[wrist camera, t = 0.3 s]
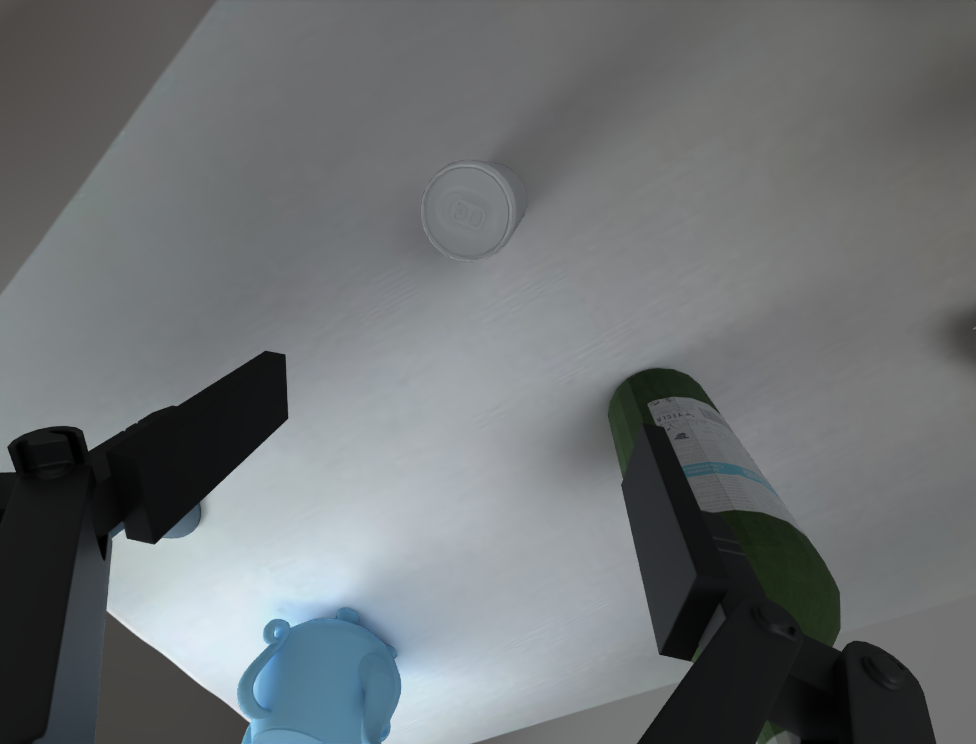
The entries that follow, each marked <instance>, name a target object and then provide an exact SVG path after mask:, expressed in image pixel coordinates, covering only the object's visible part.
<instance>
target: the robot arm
mask: <svg viewBox="0 0 976 744" xmlns="http://www.w3.org/2000/svg"><path fill="white" fill-rule="evenodd" d="M287 419H288V402H287V379H286V356H285V354H280V353H275V352H269V351H264V352H263V353H261V354H260V355H258V356H256V357H255V358H253V359H252V360H250V361H248V362H247V363H245V364H244V365H242V366H241V367H239V368H237V369H236V370H234V371H233V372H231V373H229V374H228V375H226V376H225V377H223V378H221V379H220V380H218V381H217V382H215V383H214V384H212V385H210V386H209V387H207V388H206V389H204V390H202V391H201V392H199V393H198V394H196V395H194V396H193V397H191V398H190V399H188V400H187V401H185V402H183V403H182V404H180V405H179V406H170V407H167V408H164V409H161V410H158V411H156V412H153V413H151V414H150V415H148V416H146V417H145V418H143V419H141V420H140V421H138V423H137V424H136V423H135V424H133V425H131V426H130V427H128V428H126V430H125V431H122V432H120V433H118V434H117V435H115V436H113V437H112V438H110V439H108V440H107V441H105V442H103V443H102V444H100V445H98V446H97V447H95V448H93V449H92V450H90V451H89V452H88V449H87V445H86V441H85V438H84V434H83V431H82V430H80V429H78V428H76V427H69V426H56V427H48V428H43V429H38V430H35V431H32V432H29V433H27V434H24V435H22V436H20V437H18V438H17V439H15V440H13V441H12V442H11V443H10V445H9V446H8V447H7V448H8V451H9V453H10V456H11V459H12V462H13V465H14V467H15V470H16V472H9V473H0V744H94V740H95V729H96V718H97V707H98V696H99V685H100V673H101V663H102V651H103V640H104V630H105V619H106V607H107V596H108V585H109V574H110V563H111V552H112V538H111V535H110V531H111V530H112V529H114V528H115V527H116V526H117V525H119V524H120V523H121V522H122V521H123V525H124V529H125V533H126V537H127V539H131V540H136V541H141V542H145V543H150V544H154V545H155V544H156V543H157V542H158V541H159V540H160V539H161V538H162V537H163V536H164V535H165V534H166V533H167V532H168V531H169V530H171V529H172V528H173V527H174V526H175V525H176V524H177V523H178V522H179V521H180V520H181V519H182V518H183V517H184V516H185V515H186V514H188V513H189V512H190V511H191V510H192V509H193V508H194V507H195V506H196V505H197V504H198V503H199V502H200V501H201V500H202V499H203V498H204V497H206V496H207V495H208V494H209V493H210V492H211V491H212V490H213V489H214V488H215V487H216V486H217V485H218V484H219V483H220V482H221V481H223V480H224V479H225V478H226V477H227V476H228V475H229V474H230V473H231V472H232V471H233V470H234V469H235V468H236V467H237V466H238V465H240V464H241V463H242V462H243V461H244V460H245V459H246V458H247V457H248V456H249V455H250V454H251V453H252V452H253V451H254V450H255V449H256V448H258V447H259V446H260V445H261V444H262V443H263V442H264V441H265V440H266V439H267V438H268V437H269V436H270V435H271V434H272V433H273V432H275V431H276V430H277V429H278V428H279V427H280V426H281V425H282V424H283V423H284V422H285V421H286V420H287ZM621 486H622V491H623V495H624V500H625V504H626V509H627V513H628V518H629V522H630V527H631V531H632V535H633V540H634V544H635V549H636V553H637V558H638V562H639V567H640V571H641V576H642V580H643V584H644V589H645V593H646V598H647V602H648V607H649V611H650V616H651V620H652V625H653V629H654V633H655V638H656V642H657V647H658V651H659V655H663V656H668V657H673V658H677V659H682V660H686V661H691V660H692V658H693V656H694V654H695V652H696V650H697V648H698V647H699V646H700V650H701V654H700V656H699V657H698V658H697V660H696V661H695V663H694V664H693V666H692V667H691V668H690V670H689V671H688V673H687V674H686V675H685V677H684V678H683V680H682V681H681V682H680V684H679V685H678V687H677V688H676V690H675V691H674V693H673V694H672V695H671V697H670V698H669V699H668V701H667V702H666V704H665V705H664V706H663V708H662V709H661V711H660V712H659V714H658V715H657V716H656V718H655V719H654V721H653V722H652V723H651V725H650V726H649V728H648V729H647V730H646V732H645V734H644V735H643V736H642V738H641V739H640V740H639V742H638V743H637V744H756V741H757V739H758V737H759V735H760V733H761V731H762V729H763V727H764V724H765V722H766V720H768V721H769V722H771V723H773V724H775V725H777V726H779V727H781V728H783V729H784V730H786V731H788V732H790V733H792V744H936V741H935V737H934V732H933V728H932V724H931V720H930V717H929V713H928V708H927V704H926V700H925V696H924V693H923V690H922V688H921V686H920V684H919V682H918V680H917V679H916V678H915V677H914V676H913V674H912V673H911V672H910V671H909V669H908V668H906V667H905V666H904V665H903V664H902V663H901V662H900V661H899V660H897V659H896V658H895V657H894V656H892V655H891V654H889V653H887V652H886V651H884V650H883V649H881V648H879V647H877V646H874V645H872V644H869V643H867V642H861V641H853V642H851V643H849V644H847V645H846V647H845V648H844V649H843V650H842V652H841V651H838V650H837V649H835V648H832V647H830V646H828V645H826V644H824V643H822V642H819V641H817V640H815V639H813V638H811V637H809V636H807V635H805V634H803V632H802V630H801V628H800V625H799V624H798V622H797V621H796V620H795V619H794V618H793V616H792V615H791V614H790V613H789V612H788V611H786V610H785V609H784V608H783V607H782V606H780V605H779V604H777V603H775V602H774V601H772V600H770V599H768V598H767V596H766V594H765V592H764V590H763V588H762V586H761V584H760V582H759V580H758V578H757V576H756V574H755V572H754V570H753V568H752V566H751V564H750V562H749V560H748V558H747V557H745V553H744V551H743V549H742V547H741V545H739V541H738V539H737V537H736V535H735V533H734V531H733V529H732V527H731V526H730V525H729V524H728V523H727V522H726V521H725V520H724V519H723V518H722V517H721V516H720V515H719V514H718V513H713V512H708V511H703V510H701V509H700V507H699V505H698V503H697V500H696V498H695V496H694V494H693V491H692V489H691V487H690V485H689V482H688V480H687V478H686V476H685V473H684V471H683V469H682V467H681V464H680V462H679V460H678V457H677V455H676V453H675V451H674V448H673V446H672V444H671V442H670V439H669V437H668V435H667V433H666V430H665V428H664V427H662V426H657V425H652V424H647V423H642V425H641V427H640V430H639V433H638V436H637V439H636V442H635V445H634V448H633V451H632V454H631V457H630V460H629V463H628V466H627V469H626V472H625V475H624V478H623V481H622V484H621Z"/></svg>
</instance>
